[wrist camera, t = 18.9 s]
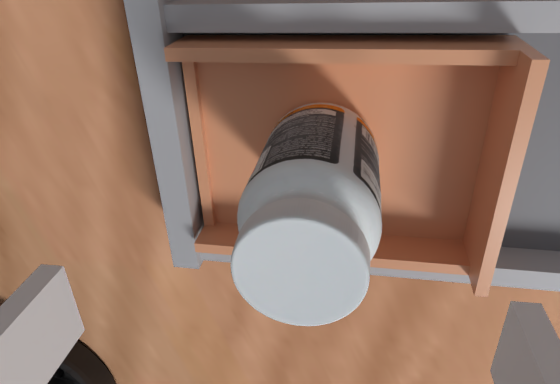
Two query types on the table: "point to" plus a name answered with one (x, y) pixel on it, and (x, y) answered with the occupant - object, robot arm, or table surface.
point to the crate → (376, 131)
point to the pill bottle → (310, 218)
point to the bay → (353, 21)
